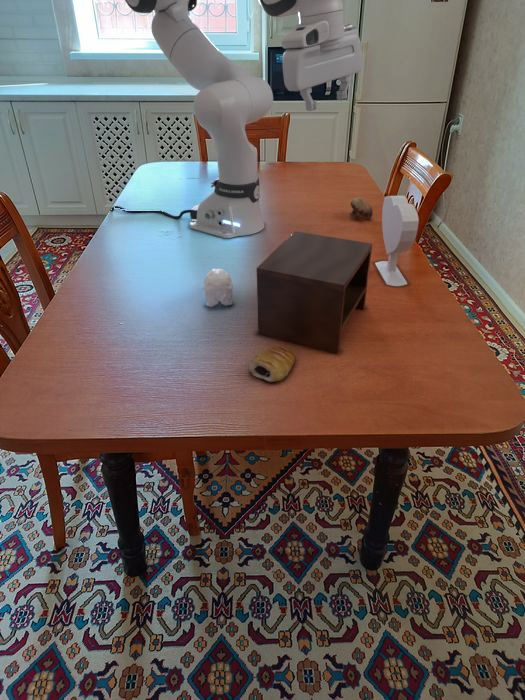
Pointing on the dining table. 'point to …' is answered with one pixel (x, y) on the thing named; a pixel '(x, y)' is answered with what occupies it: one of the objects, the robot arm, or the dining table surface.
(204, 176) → the dining table surface
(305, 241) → the shelf stand
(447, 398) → the dining table surface
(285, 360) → the pastry
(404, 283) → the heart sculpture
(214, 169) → the dining table surface
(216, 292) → the white figurine
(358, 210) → the mushroom
